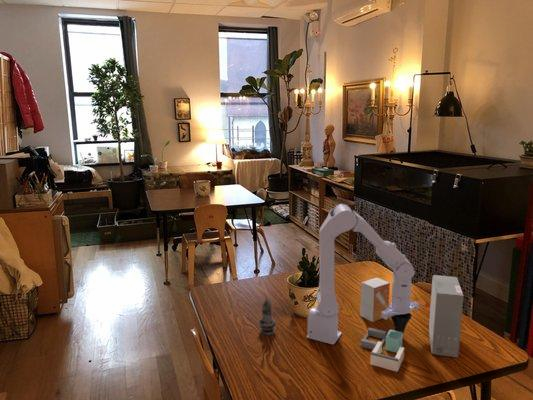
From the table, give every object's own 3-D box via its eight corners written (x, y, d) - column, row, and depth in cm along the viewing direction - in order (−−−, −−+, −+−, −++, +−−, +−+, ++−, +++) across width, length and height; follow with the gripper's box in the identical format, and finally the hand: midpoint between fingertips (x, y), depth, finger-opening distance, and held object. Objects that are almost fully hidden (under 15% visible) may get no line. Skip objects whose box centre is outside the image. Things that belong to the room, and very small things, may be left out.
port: (377, 350, 131) (378, 339, 131) (403, 357, 128) (404, 345, 127) (370, 364, 124) (370, 352, 124) (397, 371, 121) (398, 359, 120)
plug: (398, 353, 130) (399, 337, 129) (385, 350, 132) (385, 334, 131) (402, 345, 134) (402, 330, 133) (389, 342, 136) (389, 327, 135)
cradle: (379, 351, 131) (379, 345, 131) (359, 346, 134) (359, 340, 134) (386, 337, 139) (387, 331, 138) (368, 332, 142) (368, 327, 141)
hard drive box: (458, 358, 126) (464, 296, 122) (431, 355, 128) (435, 293, 124) (452, 332, 141) (457, 276, 137) (428, 329, 143) (431, 274, 139)
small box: (373, 322, 148) (374, 288, 146) (359, 315, 154) (360, 282, 151) (388, 316, 153) (390, 282, 150) (375, 309, 158) (376, 276, 155)
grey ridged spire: (278, 329, 146) (278, 296, 143) (271, 337, 140) (271, 303, 138) (263, 325, 148) (262, 293, 146) (255, 333, 143) (254, 300, 140)
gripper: (408, 285, 143) (406, 322, 146) (375, 295, 136) (373, 333, 139) (424, 293, 137) (422, 331, 140) (391, 303, 130) (389, 343, 133)
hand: (399, 333), depth 139 cm, fingers closed
